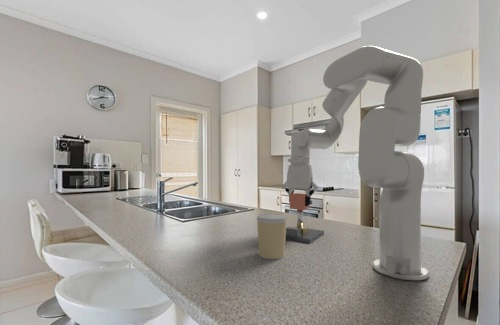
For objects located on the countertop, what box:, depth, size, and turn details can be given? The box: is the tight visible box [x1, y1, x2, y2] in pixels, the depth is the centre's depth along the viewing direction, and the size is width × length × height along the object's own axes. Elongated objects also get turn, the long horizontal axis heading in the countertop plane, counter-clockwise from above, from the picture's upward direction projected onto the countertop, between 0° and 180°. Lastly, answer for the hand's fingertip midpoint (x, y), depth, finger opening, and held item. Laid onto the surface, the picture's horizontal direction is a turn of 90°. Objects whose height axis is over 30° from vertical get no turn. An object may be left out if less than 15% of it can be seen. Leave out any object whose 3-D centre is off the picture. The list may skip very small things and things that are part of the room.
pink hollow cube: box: [289, 192, 310, 211], centre depth 106 cm, size 6×6×6 cm
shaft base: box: [285, 209, 325, 244], centre depth 103 cm, size 16×13×11 cm
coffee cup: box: [256, 213, 288, 260], centre depth 80 cm, size 9×9×12 cm
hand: (299, 204), depth 106 cm, fingers closed on pink hollow cube, 6 cm apart
